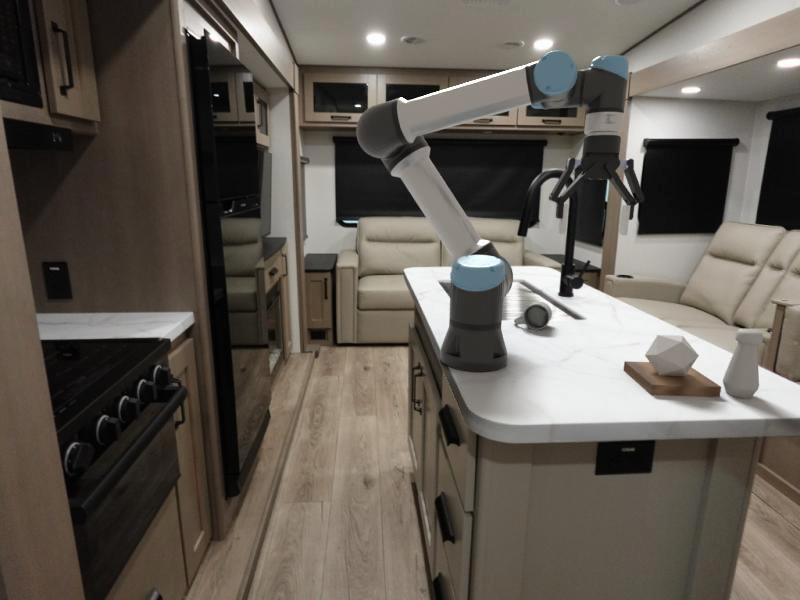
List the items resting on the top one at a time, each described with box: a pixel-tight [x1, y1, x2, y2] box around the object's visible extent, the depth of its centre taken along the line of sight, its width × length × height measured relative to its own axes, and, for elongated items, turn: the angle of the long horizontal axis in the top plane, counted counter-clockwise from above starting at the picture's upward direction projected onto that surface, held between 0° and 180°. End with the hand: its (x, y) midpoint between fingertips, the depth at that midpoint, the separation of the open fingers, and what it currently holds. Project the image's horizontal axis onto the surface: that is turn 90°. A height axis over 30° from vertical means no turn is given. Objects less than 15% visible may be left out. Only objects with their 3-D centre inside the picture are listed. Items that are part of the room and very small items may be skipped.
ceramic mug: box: [513, 301, 553, 331], centre depth 139 cm, size 10×8×7 cm
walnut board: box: [623, 361, 722, 398], centre depth 99 cm, size 13×13×2 cm
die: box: [644, 334, 700, 376], centre depth 98 cm, size 8×9×10 cm
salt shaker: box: [722, 328, 764, 399], centre depth 93 cm, size 6×6×13 cm
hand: (592, 234), depth 109 cm, fingers open, 13 cm apart
